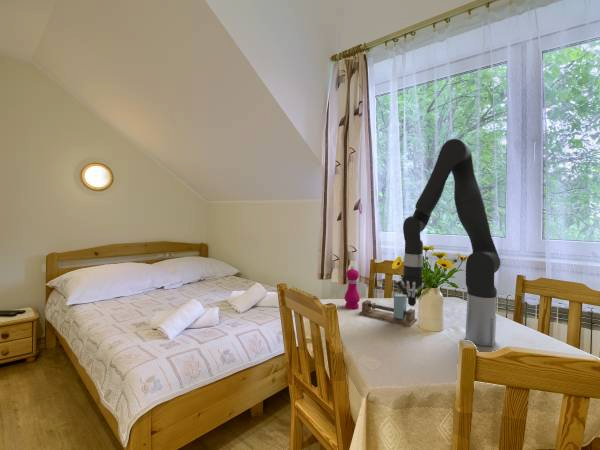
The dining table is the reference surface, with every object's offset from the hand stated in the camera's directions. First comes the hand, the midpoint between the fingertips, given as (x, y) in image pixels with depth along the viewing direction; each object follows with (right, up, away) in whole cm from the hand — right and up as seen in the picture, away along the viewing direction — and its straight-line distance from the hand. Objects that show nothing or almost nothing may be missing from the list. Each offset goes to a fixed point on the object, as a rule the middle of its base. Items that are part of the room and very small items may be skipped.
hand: (411, 305), depth 135 cm
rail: (-8, -7, +7) cm, 13 cm away
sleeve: (-4, -6, +3) cm, 8 cm away
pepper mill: (-22, -6, +21) cm, 31 cm away
